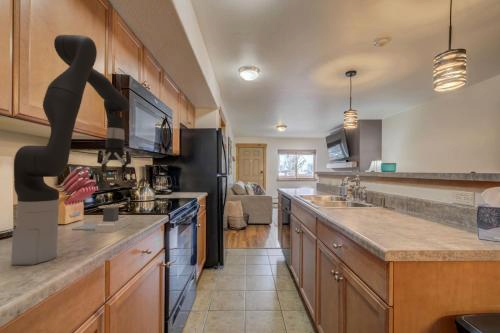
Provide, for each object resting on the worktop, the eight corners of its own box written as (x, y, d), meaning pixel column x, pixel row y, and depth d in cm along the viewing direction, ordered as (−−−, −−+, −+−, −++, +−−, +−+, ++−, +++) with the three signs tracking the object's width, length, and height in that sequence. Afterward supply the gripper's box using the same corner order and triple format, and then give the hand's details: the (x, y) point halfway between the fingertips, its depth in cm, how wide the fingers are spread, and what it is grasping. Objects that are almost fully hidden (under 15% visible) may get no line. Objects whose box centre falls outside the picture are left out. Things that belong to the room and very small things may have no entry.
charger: (113, 223, 106) (113, 207, 106) (102, 223, 106) (103, 207, 106) (118, 221, 110) (118, 206, 110) (108, 221, 110) (108, 206, 110)
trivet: (95, 230, 106) (95, 228, 106) (72, 230, 105) (72, 228, 106) (107, 225, 116) (107, 224, 116) (86, 225, 115) (86, 223, 115)
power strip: (112, 232, 103) (112, 223, 103) (94, 232, 102) (95, 222, 102) (130, 223, 121) (131, 215, 121) (116, 223, 120) (116, 215, 120)
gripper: (95, 136, 109) (93, 172, 109) (127, 137, 110) (125, 173, 110) (104, 139, 117) (102, 172, 116) (134, 140, 118) (132, 173, 117)
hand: (113, 173), depth 113 cm, fingers open, 8 cm apart
